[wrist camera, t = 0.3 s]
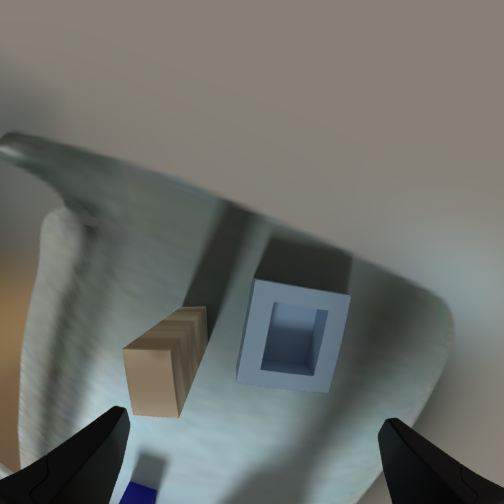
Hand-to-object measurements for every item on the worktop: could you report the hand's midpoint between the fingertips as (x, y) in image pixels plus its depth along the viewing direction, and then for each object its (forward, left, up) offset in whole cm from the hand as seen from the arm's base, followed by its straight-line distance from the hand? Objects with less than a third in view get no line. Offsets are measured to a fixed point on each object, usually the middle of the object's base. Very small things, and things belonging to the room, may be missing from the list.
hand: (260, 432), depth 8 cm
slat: (-3, +3, -15) cm, 16 cm away
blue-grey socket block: (+3, -2, -15) cm, 16 cm away
